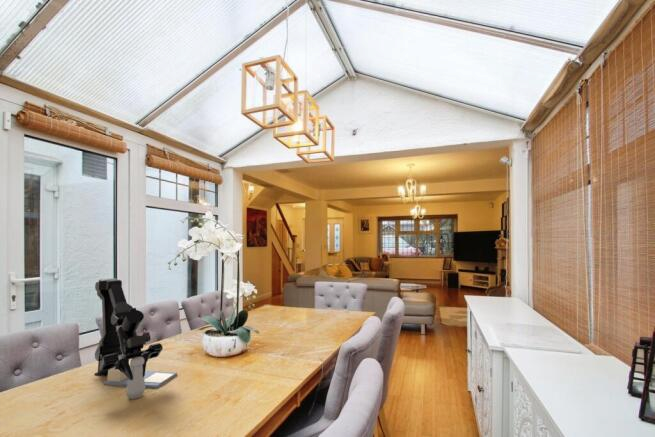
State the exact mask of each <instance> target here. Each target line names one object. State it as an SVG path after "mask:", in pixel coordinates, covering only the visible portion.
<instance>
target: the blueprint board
mask: <svg viewBox="0 0 655 437" xmlns="http://www.w3.org/2000/svg"><path fill="white" fill-rule="evenodd" d="M131 360H132V359H129V365H130V361H131ZM130 369H131V370H132V366H130ZM177 376H178V372H176V371H160V370H145V376H144V381H145V389H146V388H148V389H158V388H160V387H161V386H163V385H165V383H167V382H169V381H170V380H171V379H173V378H175V377H177ZM128 381H129V378H128V377H127V376H126V375H125V374H124V373H122V372H121V371H120V370H118V369H117V370H115V367H114V368H111V369H109V370H108V376H107V380H105V381H104V382H103V385H106V386H107V385H108V386H118V387H119V386H120V387H127V385H128Z"/></svg>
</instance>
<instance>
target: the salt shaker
mask: <svg viewBox="0 0 655 437" xmlns="http://www.w3.org/2000/svg"><path fill="white" fill-rule="evenodd" d="M130 360H131V361H130V366H132V370H131V372H132V375H133V380H130V379H129V381H128V385H127V386H126V389H125V393H126V396H127V398H128V400H136V399H140V398H141V397H142V396H143V394H144V393H145V390H146V388H145V381H144V377H143V367H142V365H143V364H144V358H143V357H136V358H133V359H130Z"/></svg>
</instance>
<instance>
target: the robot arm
mask: <svg viewBox="0 0 655 437" xmlns="http://www.w3.org/2000/svg"><path fill="white" fill-rule="evenodd" d="M94 285H95V286H94V288H95V291H96V295H97V297H98V298H99V299H100V300H101V307H102V308H101V310H102V331H103V332H102V333H103V334H102V335H101V338H100V339H99V341H98V346H97V348H96V349H95V351H94V359H95V360H96V361H97V364H98V365H97V372H95V373H94V376H105V377H108V370H109V369H111V368H114V367H115V370H117V369H118V370H120V371H121V372H122V373H124V374H125V375H126V376H127V377H128V378H129V379H130V380H133V375H132V372H131V369H130V365H129V360H132V359H133V358H136V357H143V358H144V364H143V365H142V367H143V377H144V376H145V370H146V368H147V362H148V361H149V360H150V359H154V358H158V357H159V356H160V354H161V352H162V351H163V345H162V344H161V343H159V342H157V343H153V344H149V346H148V348H147V349H143V348H144V345H146V343H147V342H150V341H151V338H152V337H151V334H150V332H149V331H147V332H144V333H142V334H141V335H138V333H137V331H138V329H139V328H140V326H141V324H142V322H143V320H144V319H145V318H144V317H145V315H144V313H143V312H142V311H140V310H137V308H136V307H133V305H131V304H129V303H128V302H127V298H126V295H125V293H124V292H125V291H124V289H123V281H122V279H117V278H116V277H115V278H103V279H102V278H101V279H99V280H98V281H96V282H95V284H94ZM117 327H118V329H117ZM142 349H143V350H142ZM146 371H147V370H146Z"/></svg>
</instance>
